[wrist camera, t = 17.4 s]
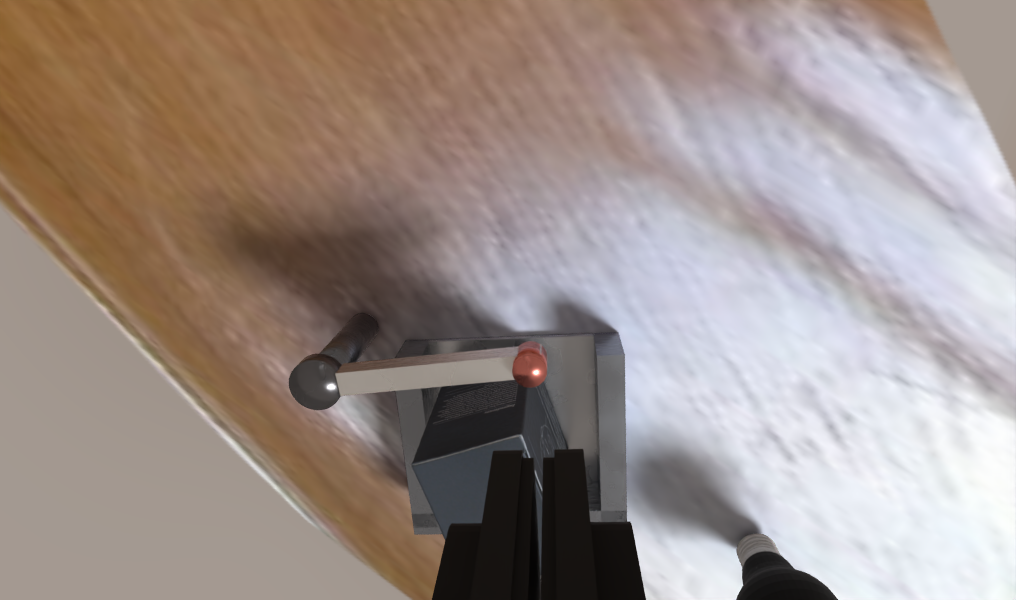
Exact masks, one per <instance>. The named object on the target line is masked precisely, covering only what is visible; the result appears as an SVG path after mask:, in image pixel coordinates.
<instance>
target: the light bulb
mask: <svg viewBox="0 0 1016 600" xmlns="http://www.w3.org/2000/svg"><path fill="white" fill-rule="evenodd" d="M737 555H738V558H739V561H740V563H741V566H742V579H743V587H742V589H741V591H740V592H739V594H738V596H737V599H736V600H838V599H837V598H836V597H835V595H834V594H833V593H832V592H831V591H830V590H829V588H828V587H827V586H825V585H824V584H823V583H822V582H820V581H819V580H818V579H816V578H815V577H813V576H811V575H809V574H807V573H805V572H802V571H799V570H795V569H794V568H793V567H792V566H791V565H790V563H789V562H788V561H787V560H785V559H784V558H783V557H782V556H781V555H780V553H779V551H778V549H777V547H776V545H775V543H774V542H773V541H772V539H770V538H769V537H768V536H766V535H763V534H750V535H748V536H746V537H744V538H743V539H742V540H740V542H739V543H738V546H737Z"/></svg>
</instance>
